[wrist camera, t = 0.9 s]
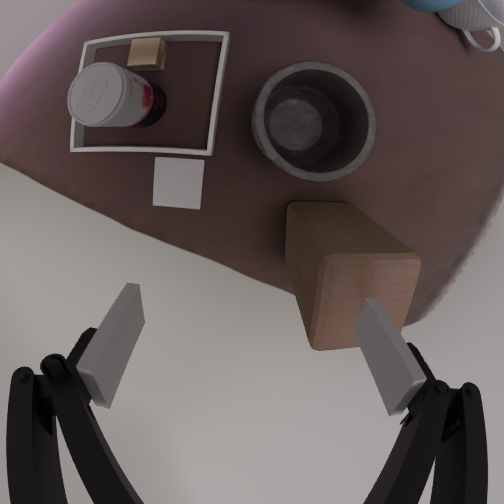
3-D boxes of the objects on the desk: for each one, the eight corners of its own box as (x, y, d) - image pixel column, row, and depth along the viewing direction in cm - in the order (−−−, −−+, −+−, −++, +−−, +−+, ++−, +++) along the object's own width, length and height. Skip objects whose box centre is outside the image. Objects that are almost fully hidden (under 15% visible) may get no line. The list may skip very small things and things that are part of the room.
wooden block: (283, 263, 43) (309, 355, 25) (286, 199, 39) (323, 259, 21) (344, 262, 43) (399, 344, 25) (351, 201, 39) (427, 257, 21)
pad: (156, 156, 36) (155, 157, 35) (204, 160, 36) (204, 160, 36) (153, 204, 39) (152, 205, 38) (200, 208, 39) (199, 209, 39)
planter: (319, 180, 38) (352, 201, 26) (237, 150, 36) (234, 157, 24) (348, 104, 33) (392, 94, 22) (267, 71, 32) (278, 41, 20)
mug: (482, 54, 27) (527, 49, 15) (450, 56, 29) (500, 47, 17) (449, -10, 21) (489, -27, 9) (413, -14, 23) (453, -38, 11)
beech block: (142, 47, 29) (132, 39, 25) (168, 45, 29) (160, 37, 26) (137, 71, 31) (127, 65, 27) (163, 70, 31) (155, 63, 27)
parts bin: (94, 46, 28) (84, 41, 25) (230, 39, 29) (229, 31, 27) (80, 150, 34) (70, 152, 32) (213, 154, 36) (211, 155, 33)
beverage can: (175, 94, 32) (136, 73, 19) (152, 134, 35) (102, 137, 21) (139, 76, 31) (87, 53, 17) (116, 116, 33) (56, 112, 19)
